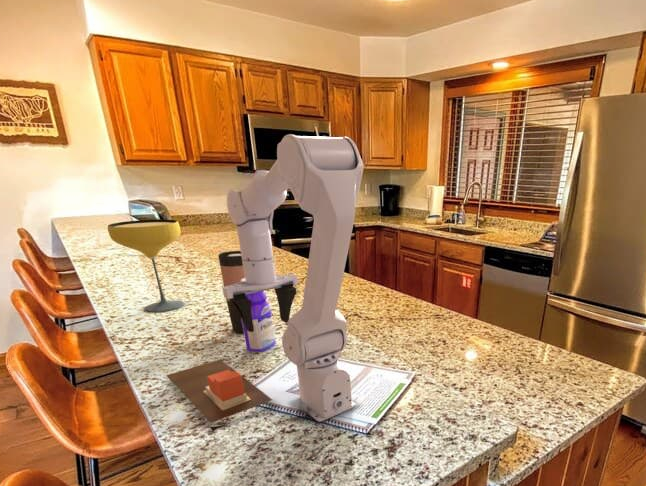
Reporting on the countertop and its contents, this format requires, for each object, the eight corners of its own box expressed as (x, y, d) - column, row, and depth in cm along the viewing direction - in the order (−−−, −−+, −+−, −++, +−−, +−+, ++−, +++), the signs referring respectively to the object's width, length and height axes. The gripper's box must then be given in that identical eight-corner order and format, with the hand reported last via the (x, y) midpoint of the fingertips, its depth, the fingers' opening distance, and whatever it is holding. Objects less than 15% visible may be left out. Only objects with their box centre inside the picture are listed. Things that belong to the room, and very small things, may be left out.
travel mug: (228, 334, 111) (212, 256, 102) (237, 324, 117) (224, 250, 109) (257, 333, 111) (245, 256, 102) (265, 323, 118) (254, 250, 109)
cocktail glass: (134, 302, 137) (111, 221, 126) (196, 295, 144) (179, 218, 133) (128, 319, 122) (101, 229, 111) (197, 310, 129) (178, 224, 118)
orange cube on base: (247, 398, 77) (242, 375, 75) (223, 407, 74) (217, 383, 72) (229, 383, 82) (224, 361, 80) (206, 391, 79) (200, 368, 77)
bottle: (265, 358, 97) (254, 283, 89) (243, 356, 98) (229, 282, 90) (280, 346, 103) (270, 275, 96) (259, 344, 104) (247, 274, 97)
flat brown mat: (273, 406, 77) (272, 398, 77) (212, 430, 71) (210, 421, 70) (221, 365, 93) (220, 358, 93) (167, 381, 87) (165, 374, 86)
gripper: (282, 250, 88) (290, 313, 93) (211, 260, 79) (224, 329, 84) (300, 255, 83) (307, 321, 88) (226, 266, 74) (239, 339, 80)
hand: (268, 325), depth 86 cm, fingers open, 7 cm apart
